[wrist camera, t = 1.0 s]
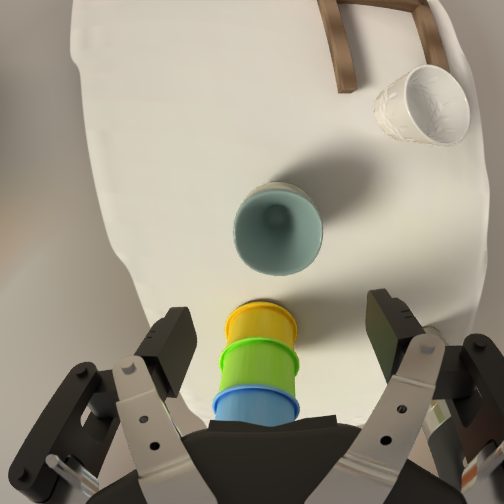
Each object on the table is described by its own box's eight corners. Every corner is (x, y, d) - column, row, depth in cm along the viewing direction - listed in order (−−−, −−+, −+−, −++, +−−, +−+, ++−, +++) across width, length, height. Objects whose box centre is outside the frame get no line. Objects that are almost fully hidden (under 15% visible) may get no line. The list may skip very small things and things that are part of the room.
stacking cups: (311, 318, 37) (337, 591, 5) (275, 365, 41) (259, 589, 8) (245, 287, 36) (175, 591, 4) (214, 339, 40) (144, 571, 8)
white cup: (431, 139, 27) (478, 140, 18) (380, 151, 29) (420, 153, 19) (412, 80, 25) (454, 63, 15) (359, 89, 26) (391, 67, 17)
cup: (245, 176, 31) (231, 186, 22) (312, 179, 31) (328, 191, 21) (244, 240, 34) (231, 275, 25) (307, 243, 34) (319, 279, 24)
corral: (442, 100, 25) (454, 97, 22) (338, 93, 27) (344, 88, 24) (417, 6, 20) (425, -2, 17) (315, -6, 22) (317, -17, 19)
